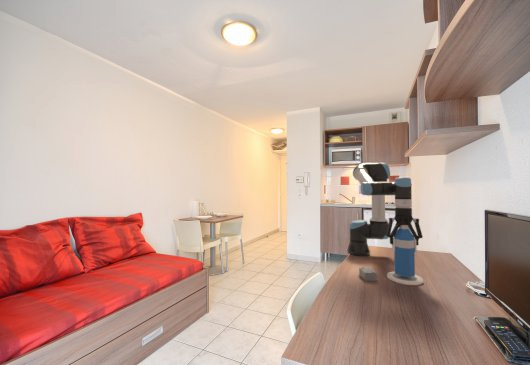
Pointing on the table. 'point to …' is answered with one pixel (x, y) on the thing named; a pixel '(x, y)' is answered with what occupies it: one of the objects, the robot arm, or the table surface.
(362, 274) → the box
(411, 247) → the water bottle
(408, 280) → the cream plate
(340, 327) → the table surface
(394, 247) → the robot arm
